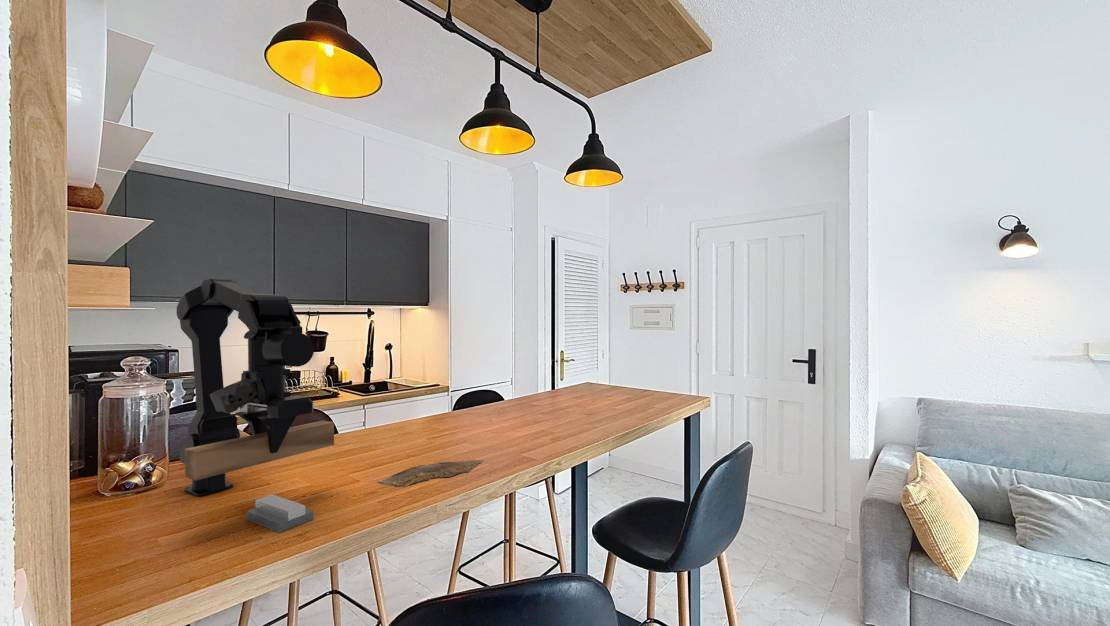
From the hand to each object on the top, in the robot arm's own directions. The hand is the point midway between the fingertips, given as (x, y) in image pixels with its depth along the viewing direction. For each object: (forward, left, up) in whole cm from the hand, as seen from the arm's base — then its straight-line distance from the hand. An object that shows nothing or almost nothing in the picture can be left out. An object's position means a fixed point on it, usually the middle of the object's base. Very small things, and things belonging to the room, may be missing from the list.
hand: (267, 451), depth 88 cm
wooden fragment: (+9, +33, -12) cm, 36 cm away
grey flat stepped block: (+4, 0, -12) cm, 12 cm away
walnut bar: (0, 0, -1) cm, 1 cm away
